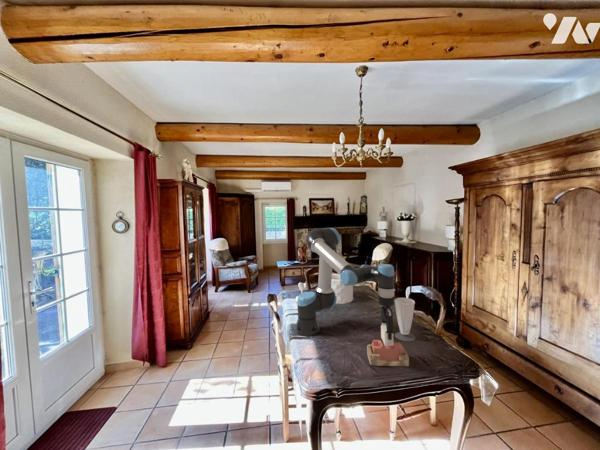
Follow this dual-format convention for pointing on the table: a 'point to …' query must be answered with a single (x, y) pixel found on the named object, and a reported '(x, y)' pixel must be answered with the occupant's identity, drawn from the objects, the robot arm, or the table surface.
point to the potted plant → (301, 287)
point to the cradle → (375, 360)
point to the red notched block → (387, 350)
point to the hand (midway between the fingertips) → (387, 340)
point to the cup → (404, 318)
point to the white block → (384, 334)
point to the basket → (341, 290)
